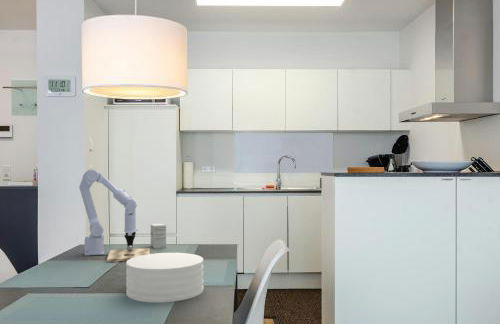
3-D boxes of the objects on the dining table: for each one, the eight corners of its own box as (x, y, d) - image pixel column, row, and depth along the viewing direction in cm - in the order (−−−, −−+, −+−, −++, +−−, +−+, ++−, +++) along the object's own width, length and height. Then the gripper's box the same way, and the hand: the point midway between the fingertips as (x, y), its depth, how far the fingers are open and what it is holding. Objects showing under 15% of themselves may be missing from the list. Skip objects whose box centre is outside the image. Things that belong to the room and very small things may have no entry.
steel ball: (126, 251, 233) (126, 245, 233) (126, 250, 236) (126, 244, 236) (132, 251, 234) (132, 245, 234) (132, 250, 237) (132, 244, 237)
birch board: (106, 262, 215) (106, 259, 215) (110, 252, 238) (110, 249, 238) (149, 260, 220) (149, 257, 220) (149, 250, 243) (149, 248, 243)
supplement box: (150, 246, 257) (150, 224, 257) (163, 245, 260) (163, 223, 260) (153, 248, 250) (153, 225, 250) (166, 247, 253) (166, 224, 253)
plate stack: (169, 277, 187) (169, 249, 187) (219, 289, 169) (219, 258, 169) (110, 292, 165) (110, 261, 165) (160, 308, 147) (160, 273, 147)
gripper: (137, 223, 236) (137, 249, 236) (138, 219, 251) (138, 244, 251) (123, 223, 235) (123, 249, 235) (124, 220, 249) (124, 244, 249)
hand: (130, 247), depth 243 cm, fingers open, 7 cm apart
